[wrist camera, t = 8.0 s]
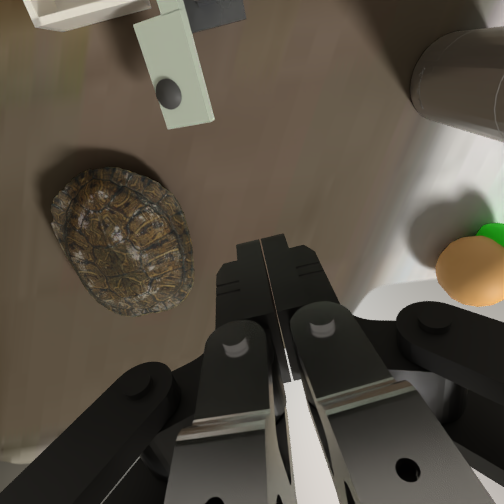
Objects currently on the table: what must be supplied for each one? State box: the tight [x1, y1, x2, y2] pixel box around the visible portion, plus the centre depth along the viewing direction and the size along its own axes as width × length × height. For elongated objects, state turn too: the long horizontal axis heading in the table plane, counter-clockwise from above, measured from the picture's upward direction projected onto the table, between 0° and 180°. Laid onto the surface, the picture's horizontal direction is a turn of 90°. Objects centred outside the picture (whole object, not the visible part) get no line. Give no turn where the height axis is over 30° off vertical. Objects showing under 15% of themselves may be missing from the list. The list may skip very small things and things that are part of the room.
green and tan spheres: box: [436, 223, 504, 307], centre depth 48 cm, size 11×10×12 cm
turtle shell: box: [51, 167, 194, 317], centre depth 43 cm, size 16×9×20 cm
